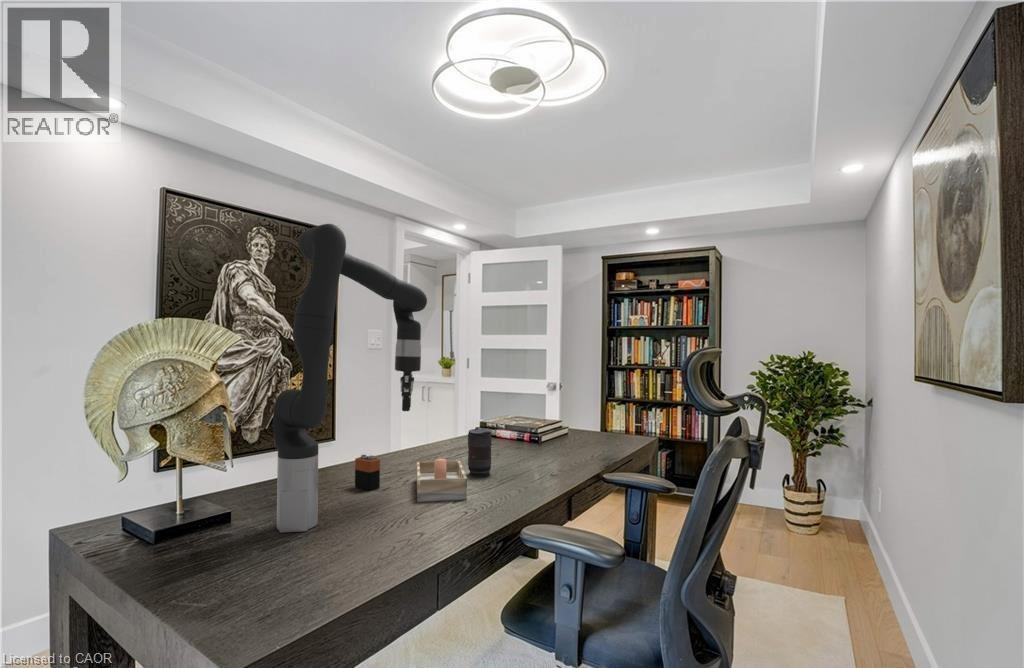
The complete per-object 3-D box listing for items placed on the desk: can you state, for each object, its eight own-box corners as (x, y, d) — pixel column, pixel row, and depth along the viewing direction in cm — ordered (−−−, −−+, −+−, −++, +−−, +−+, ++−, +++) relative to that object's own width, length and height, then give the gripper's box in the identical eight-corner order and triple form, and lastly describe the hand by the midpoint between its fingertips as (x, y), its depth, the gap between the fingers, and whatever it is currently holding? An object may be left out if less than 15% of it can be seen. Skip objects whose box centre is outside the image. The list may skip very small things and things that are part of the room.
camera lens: (462, 475, 173) (463, 430, 173) (477, 470, 180) (477, 427, 180) (481, 479, 169) (481, 433, 169) (496, 474, 175) (496, 430, 175)
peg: (446, 490, 155) (446, 461, 155) (434, 491, 155) (434, 461, 155) (445, 487, 159) (446, 458, 159) (434, 488, 158) (434, 458, 158)
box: (466, 499, 147) (466, 478, 147) (417, 501, 145) (417, 480, 145) (459, 478, 169) (460, 460, 169) (416, 480, 166) (416, 461, 166)
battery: (369, 491, 154) (369, 458, 154) (354, 487, 158) (354, 455, 158) (380, 488, 158) (380, 455, 158) (365, 484, 161) (365, 452, 161)
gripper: (420, 355, 147) (418, 412, 146) (421, 355, 161) (419, 407, 160) (393, 354, 146) (391, 412, 145) (396, 354, 160) (394, 407, 159)
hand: (406, 409), depth 153 cm, fingers open, 8 cm apart
